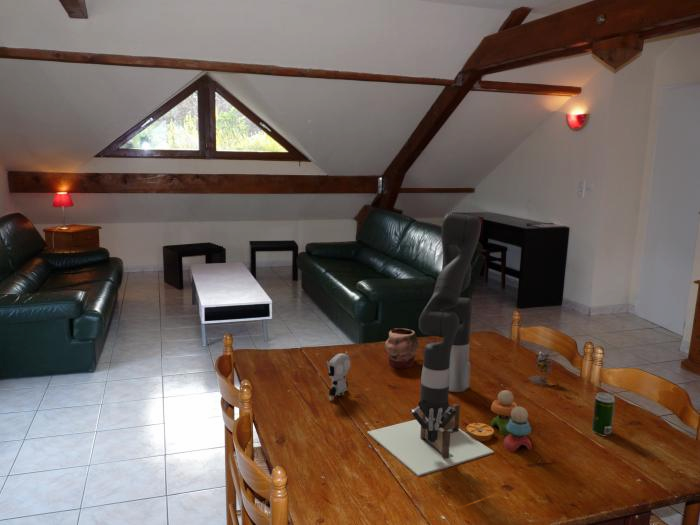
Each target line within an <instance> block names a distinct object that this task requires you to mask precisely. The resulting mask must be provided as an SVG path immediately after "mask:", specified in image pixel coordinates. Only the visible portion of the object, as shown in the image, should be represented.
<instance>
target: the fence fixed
mask: <svg viewBox="0 0 700 525" xmlns="http://www.w3.org/2000/svg"><path fill="white" fill-rule="evenodd" d="M452 407H453V408H454V409H455V411H456V414H455V415H454V416H453V417H452V419H451V420H450V421H449V422H448V423H447V425H446V426H445V427H444V428H442V427H441V428H442V429H444V430H449V429H452V430H453V431H458V430H459V429H460V427H459V426H460V413H461V412H460V410H461V405H460V404H459V403H453V405H452ZM445 412H446V411H445ZM420 413H421V415H420V417H421V419H422V420H423V421H424V422H426V418H425V415H424V414H423V412H422V411H420ZM443 415H444V414H443ZM443 415H442V416H443ZM442 416H441V417H442ZM425 433H426V429H423V428H422V426H421V432H420V439H422V440H427V439H426V438H425Z"/></svg>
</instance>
